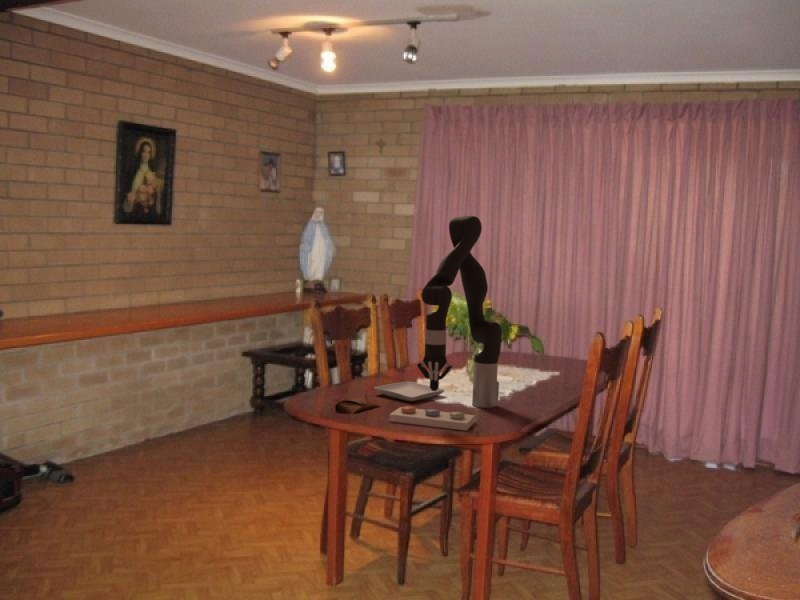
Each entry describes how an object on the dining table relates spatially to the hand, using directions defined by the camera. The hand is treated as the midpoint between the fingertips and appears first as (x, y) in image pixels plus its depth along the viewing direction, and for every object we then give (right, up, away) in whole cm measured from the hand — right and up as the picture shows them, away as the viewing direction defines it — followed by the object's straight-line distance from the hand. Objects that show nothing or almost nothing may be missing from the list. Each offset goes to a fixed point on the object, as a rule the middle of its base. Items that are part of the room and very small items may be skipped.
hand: (434, 390), depth 278 cm
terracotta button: (-9, -10, +4) cm, 14 cm away
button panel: (-1, -11, +1) cm, 11 cm away
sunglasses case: (-28, -9, +17) cm, 34 cm away
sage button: (+8, -12, -2) cm, 14 cm away
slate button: (-1, -11, +1) cm, 11 cm away
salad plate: (-8, -7, +42) cm, 43 cm away
